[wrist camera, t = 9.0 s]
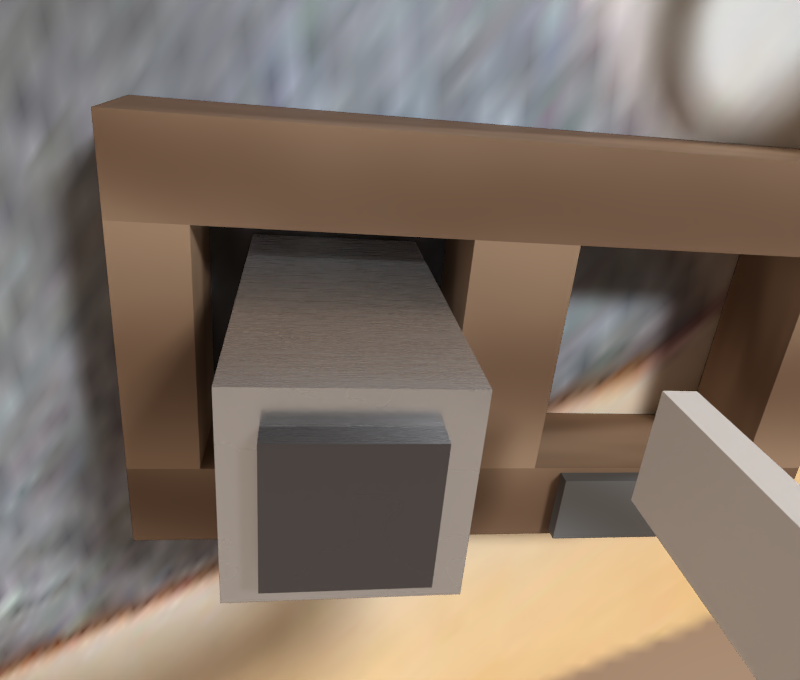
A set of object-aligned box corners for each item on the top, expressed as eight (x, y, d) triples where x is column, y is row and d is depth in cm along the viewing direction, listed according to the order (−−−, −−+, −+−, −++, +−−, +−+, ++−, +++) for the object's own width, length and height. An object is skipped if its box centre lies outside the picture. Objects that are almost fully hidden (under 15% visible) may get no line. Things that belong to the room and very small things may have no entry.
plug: (253, 234, 18) (206, 403, 10) (415, 241, 18) (500, 405, 10) (254, 379, 19) (216, 625, 11) (401, 381, 20) (465, 615, 12)
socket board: (127, 94, 16) (85, 109, 13) (830, 151, 19) (932, 174, 16) (156, 473, 20) (130, 550, 17) (719, 471, 23) (782, 538, 20)
